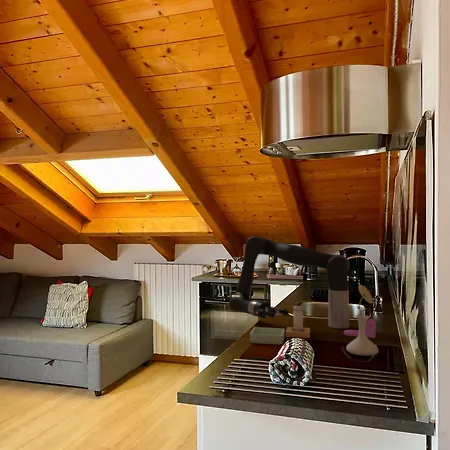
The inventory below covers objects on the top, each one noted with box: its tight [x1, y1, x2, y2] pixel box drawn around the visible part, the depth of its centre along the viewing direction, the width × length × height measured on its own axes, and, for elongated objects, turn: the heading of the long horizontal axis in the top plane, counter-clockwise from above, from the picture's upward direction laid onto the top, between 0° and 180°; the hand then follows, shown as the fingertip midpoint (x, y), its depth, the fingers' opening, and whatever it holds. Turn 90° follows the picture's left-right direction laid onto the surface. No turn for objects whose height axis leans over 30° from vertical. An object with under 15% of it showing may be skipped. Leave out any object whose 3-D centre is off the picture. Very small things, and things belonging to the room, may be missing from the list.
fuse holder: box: [285, 326, 311, 339], centre depth 196 cm, size 10×10×2 cm
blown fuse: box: [292, 305, 304, 332], centre depth 196 cm, size 4×4×12 cm
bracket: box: [343, 318, 377, 339], centre depth 196 cm, size 13×6×7 cm, turn 69°
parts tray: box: [249, 326, 286, 345], centre depth 186 cm, size 13×13×4 cm
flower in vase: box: [345, 284, 379, 357], centre depth 167 cm, size 13×11×25 cm
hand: (281, 314), depth 205 cm, fingers open, 8 cm apart
